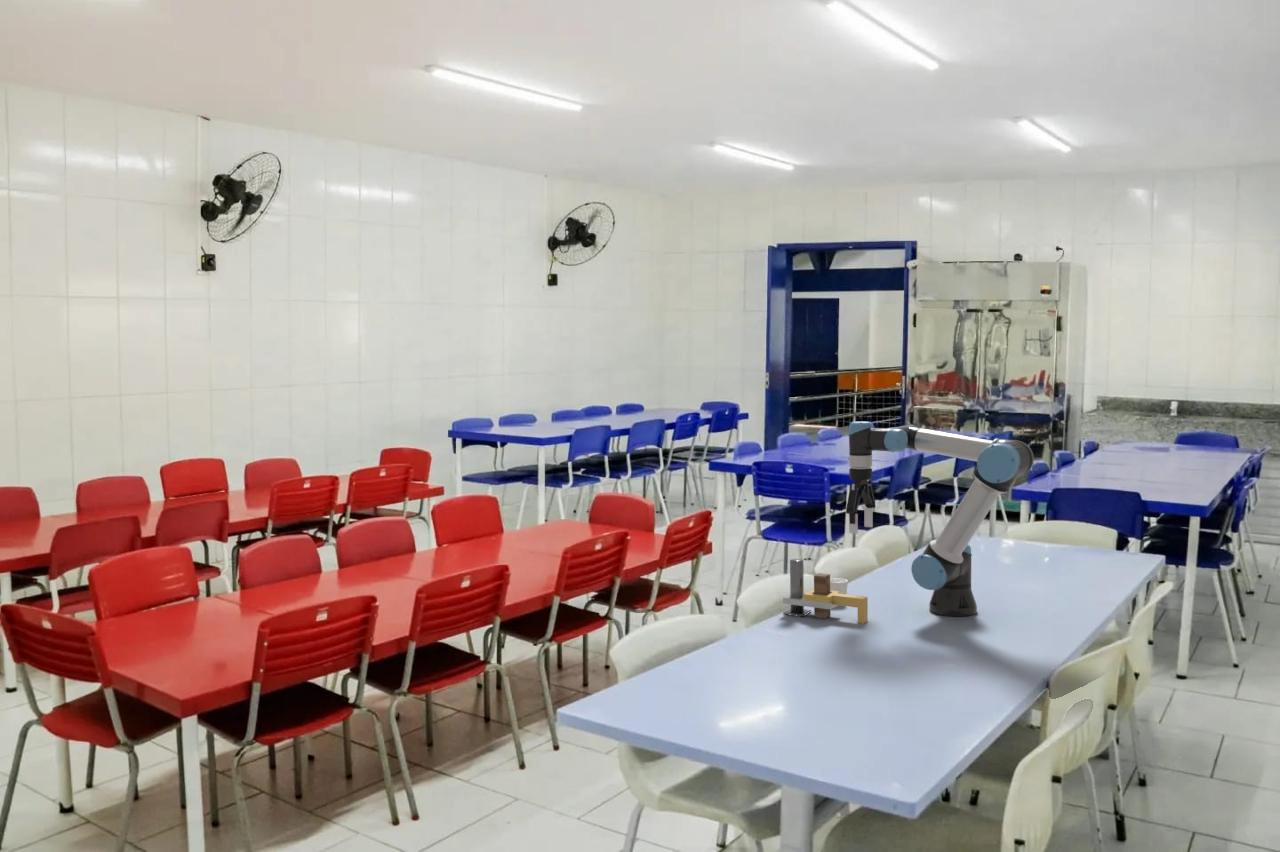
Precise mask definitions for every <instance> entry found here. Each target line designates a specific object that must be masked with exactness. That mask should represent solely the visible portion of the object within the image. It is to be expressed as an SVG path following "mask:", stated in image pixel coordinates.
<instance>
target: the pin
mask: <svg viewBox="0 0 1280 852" xmlns="http://www.w3.org/2000/svg"><path fill="white" fill-rule="evenodd" d="M830 579H831V574H830V573H822V572H821V573H820V572H819V573H816V574H814V575H813V589H814V594H818V595H828V594H830ZM831 610H832V609H831ZM831 610H830V609H822V608H814V607H813V611H814V612H813V614H814V616H815V617H820V618H819V619H823V618H826V619H828V618H830V617H831V616H830V615H831ZM829 616H830V617H829ZM815 617H814V618H815ZM827 617H828V618H827Z"/></svg>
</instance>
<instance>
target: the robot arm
mask: <svg viewBox="0 0 1280 852" xmlns="http://www.w3.org/2000/svg"><path fill="white" fill-rule="evenodd" d="M848 442H849V443H848V447H849V448H848V449H849V450H848V451H849V452H848V453H849V454H848V455H849V457H848V458H847V460H848V462H849V467H850V468H849V471H848V472H849V479H850V480H853V483H850V484H849V492H848V496H847V503H846V509H845V513H846V515H848V532H849V533H848V534H856V535H857V534H858V533H859V527H858V525H859V524H858V523H859V522H858V520H859V518H858V516H859V513H857V512H858V508H859V505H860V502H861V498H862V502H863V503H864V507H863V508H864V509H863V511H864V515H863V516H864V518H863V519H864V521H863V523H864V528H873V527H874V522H873V519H874V518H873V517H874V516H873V515H874V514H873V511H874V510H873V509H875V508H876V499H875V496H874V495H875V494H874V490H873V483H872V482H873V481H872V478H873V469H872V467H873V451H875V452H876V451H878V452H879V451H880V452H890V453H899V452H900V453H901V452H902V453H903V452H904V451H905V449H907V450H912V451H914V450H915V451H919V452H925V453H931V454H935V455H941V456H946V457H951V458H957V459H960V460H965V461H966V460H968V461H970V462H971V461H973V462H976V468H975V469H974V471H973V473H972V474H973V477H974V480H973V482H972V484H971V485H970V486H969V489H968V490H967V491H966V493H965V495H964V496H963V498H962V499H961V500H960V503H959V504H958V505H957V507H956V509H955V511H954V512H953V514H952V516H951V517H950V519H949V520H948V521H947V524H945V527H944V528H943V530H942V531H941V533H940V535H939V536H938V538H937V539H931V540H930V542H929V543H928V544H927V546H926V548H925V549H924V550H923V552H922V554H919V555H917V556H916V557H915V559H913V560H912V564H911V574H912V578H913V581H915V583H916V584H917V585H918V586H919V587H921V588H923V589H925V590H928V591H933V592H932V595H931V598H930V601H929V604H928V605H929V611H930V612H931V613H933V614H935V615H940V616H946V617H968V616H972V615H976V614H977V612H978V607H977V602H976V599H975V596H974V594H973V590H972V556H973V554H972V548H971V546H970V545H969V543H970V541H971V540H972V539H973V537H974V535H975V533H976V532H977V530H978V529H979V527H980V526H981V524H982V523H983V521H984V519H986V517H987V515H988V514H989V512H990V510H991V509H992V508H993V505H994V504H995V502H996V501H997V500H998V498H999V496H1000V495H1002V494H1007V493H1008V492H1009V490H1010V488H1011V487H1012V486H1013V484H1014V482H1015V481H1016V479H1017V478H1019V477H1020V478H1021V477H1022V476H1024V475H1026V474H1028V473H1029V472H1030V471H1031V469H1032V468H1033V465H1034V462H1035V457H1034V453H1033V450H1032V449H1031V447H1030V446H1029V445H1028V444H1027V443H1025V442H1023V441H1020V440H1019V439H1018V440H1016V439H1004V438H998V437H996V438H995V439H993V440H991V439H984V438H979V437H973V436H968V435H962V434H957V433H950V432H945V431H944V432H943V431H939V430H933V429H926V428H920V427H917V425H912V424H905V425H900V426H895V427H888V428H883V427H882V428H878V427H877V428H875V427H873V423H872V422H871V421H852V422H850V423H849V427H848Z"/></svg>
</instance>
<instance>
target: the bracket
mask: <svg viewBox="0 0 1280 852" xmlns="http://www.w3.org/2000/svg"><path fill="white" fill-rule="evenodd" d="M804 593H805V594H804V600H806V601H815V602H823V603H831V602H834V605H838V606H841V607H842V606H843V607H850V608H857V623H858V624H863V625H864V624H866V623H868V620H869V619H868V618H869V617H868V616H869V614H868V613H869V612H868V611H869V610H868V608H869V607H868V601H869V599H868V596H864V595H855V594H847V593H846V594H840V591H832V590H830V594H828V595H818V594H814V588H813V589H811V590H808V591H807V592H804Z"/></svg>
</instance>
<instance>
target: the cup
mask: <svg viewBox="0 0 1280 852" xmlns="http://www.w3.org/2000/svg"><path fill="white" fill-rule="evenodd" d="M848 584H849V580H848V579H846V578H840V577H838V578H837V577H836V578H835V577H834V578H830V590H832V591H840V594H847V593H848Z"/></svg>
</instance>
